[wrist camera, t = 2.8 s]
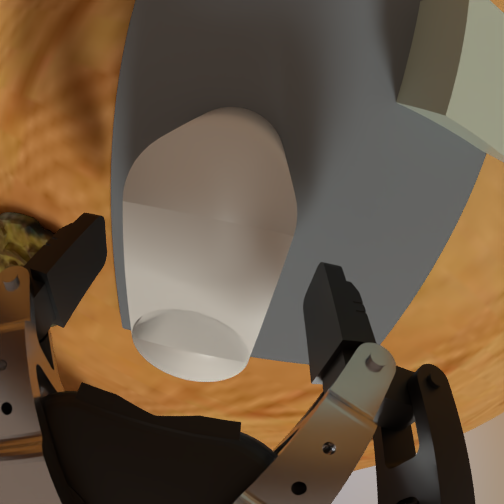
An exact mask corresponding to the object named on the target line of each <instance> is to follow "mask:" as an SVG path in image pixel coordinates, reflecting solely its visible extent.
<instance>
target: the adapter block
mask: <svg viewBox="0 0 504 504" xmlns="http://www.w3.org/2000/svg"><path fill="white" fill-rule="evenodd" d="M396 103H398V104H400V105H403V106H405V107H407V108H409V109H411V110H413V111H415V112H417V113H419V114H421V115H423V116H425V117H426V118H428V119H430V120H432V121H434V122H436V123H438V124H439V125H441V126H443V127H445V128H446V129H448V130H450V131H451V132H453V133H455V134H456V135H458V136H460V137H461V138H463V139H464V140H466V141H468V142H469V143H471V144H472V145H474V146H475V147H477V148H478V149H480V150H481V151H483V152H485V153H487V154H489V155H491V156H493V157H495V158H497V159H498V160H500V161H502V162H504V13H503V12H502V11H501V10H500V9H499V8H498V7H497V6H495V5H494V4H493V3H492V2H491V1H490V0H422V1H420V6H419V12H418V17H417V22H416V27H415V31H414V36H413V40H412V45H411V49H410V53H409V57H408V61H407V65H406V69H405V73H404V77H403V80H402V84H401V87H400V91H399V94H398V98H397V101H396Z"/></svg>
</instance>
